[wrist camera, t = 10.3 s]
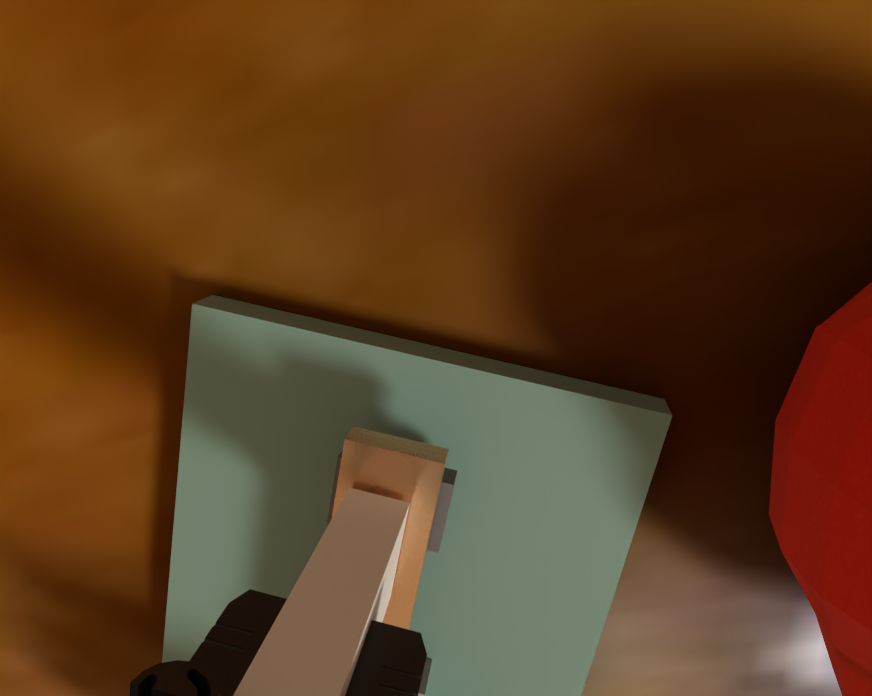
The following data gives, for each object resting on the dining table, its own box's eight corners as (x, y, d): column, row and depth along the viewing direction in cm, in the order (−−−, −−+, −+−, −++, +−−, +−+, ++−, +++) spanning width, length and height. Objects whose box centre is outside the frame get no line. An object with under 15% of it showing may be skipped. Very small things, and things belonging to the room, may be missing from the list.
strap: (351, 421, 17) (338, 442, 16) (454, 446, 17) (447, 468, 15) (302, 717, 20) (287, 752, 19) (388, 742, 20) (378, 778, 18)
